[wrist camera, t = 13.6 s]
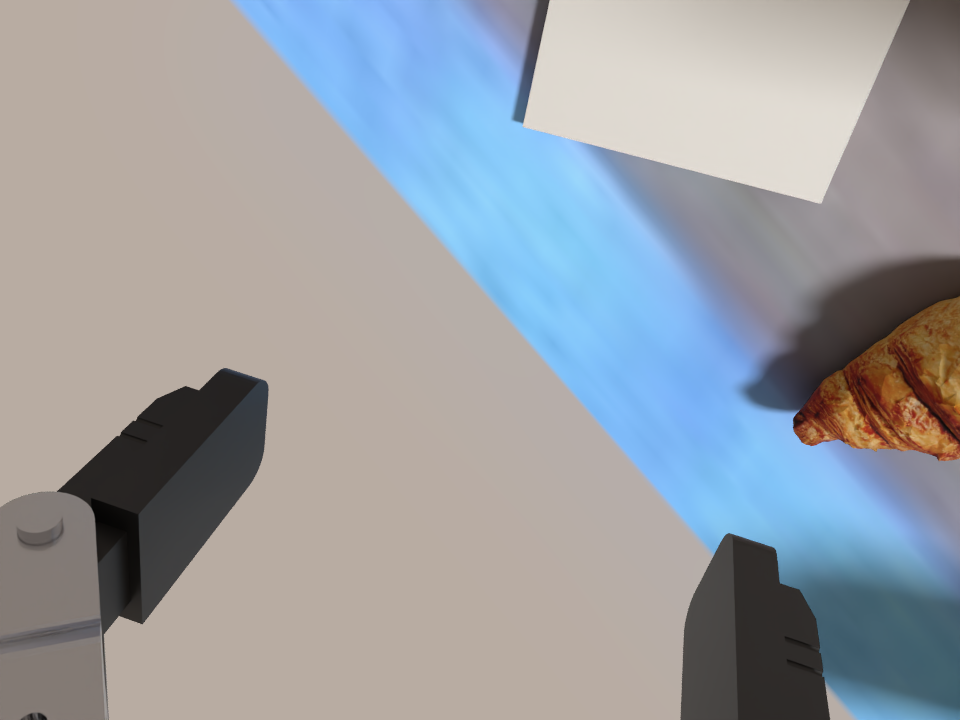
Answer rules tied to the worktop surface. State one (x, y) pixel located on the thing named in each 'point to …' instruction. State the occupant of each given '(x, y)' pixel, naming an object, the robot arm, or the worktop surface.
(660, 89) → the mat
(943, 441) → the croissant
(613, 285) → the worktop surface
